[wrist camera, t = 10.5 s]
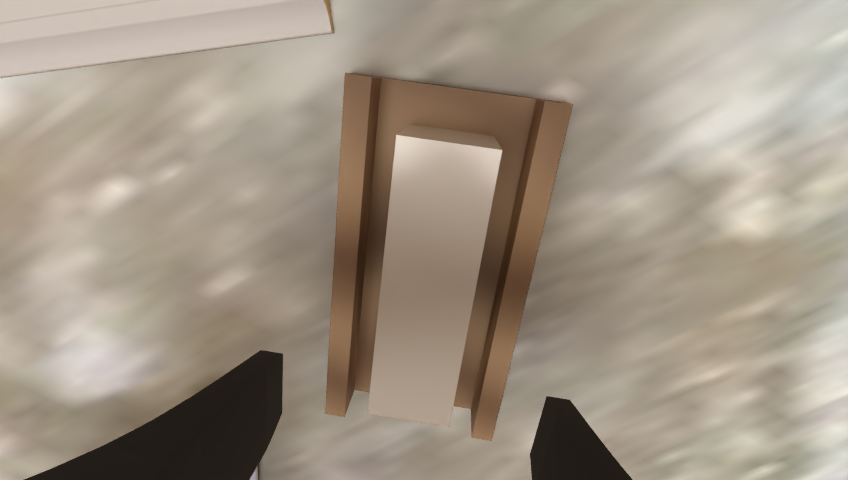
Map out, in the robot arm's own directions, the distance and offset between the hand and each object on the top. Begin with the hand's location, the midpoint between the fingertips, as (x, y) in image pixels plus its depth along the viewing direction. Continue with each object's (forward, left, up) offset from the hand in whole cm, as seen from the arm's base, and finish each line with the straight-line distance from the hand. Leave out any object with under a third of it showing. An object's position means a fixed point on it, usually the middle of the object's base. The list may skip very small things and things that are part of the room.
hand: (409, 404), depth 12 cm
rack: (0, 0, -10) cm, 10 cm away
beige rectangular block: (0, 0, -9) cm, 9 cm away
